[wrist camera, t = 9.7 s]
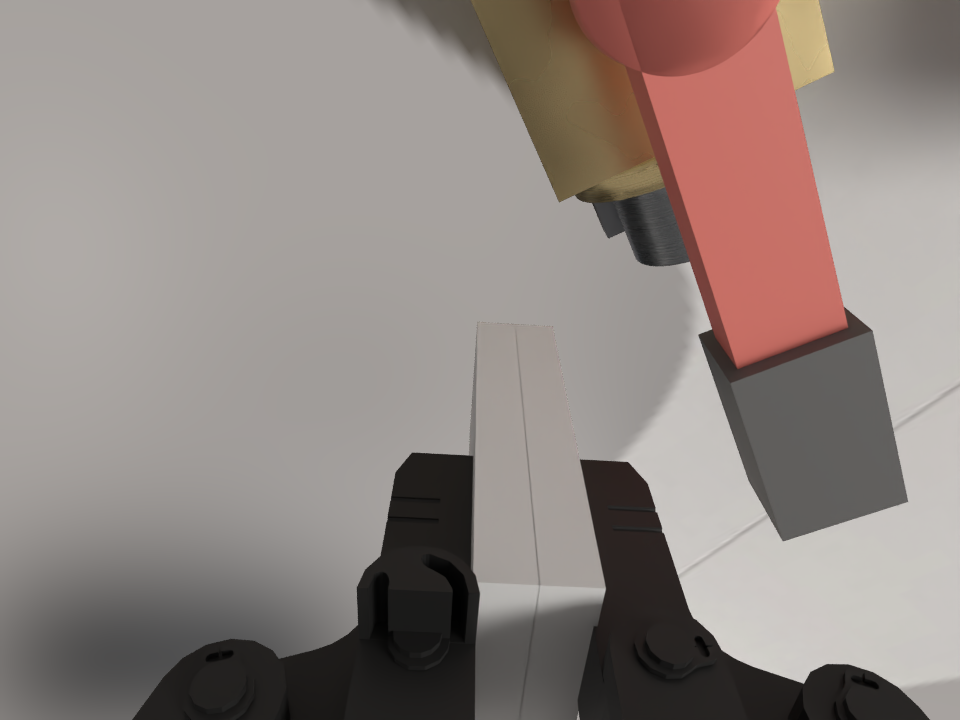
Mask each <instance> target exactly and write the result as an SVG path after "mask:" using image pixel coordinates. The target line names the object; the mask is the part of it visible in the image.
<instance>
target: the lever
mask: <svg viewBox="0 0 960 720" xmlns="http://www.w3.org/2000/svg"><path fill="white" fill-rule="evenodd" d="M779 1H780V0H569V2H570V5H571V9H572V12H573V14H574V16H575V19H576V21H577V23H578V25H579V26H580V28H581V30H582V32H583V33H584V35H585V36H586V37H587V38H588V40H589V41H590V42H591V43H592V44H593V45H594V46H595V47H596V48H597V49H598V50H599V51H600V52H602V53H603V54H605V55H606V56H607V57H609V58H610V59H612V60H614V61H616V62H618V63H620V64H623V65H625V68H626V71H627V74H628V77H629V80H630V83H631V86H632V89H633V92H634V95H635V98H636V101H637V104H638V107H639V110H640V113H641V116H642V119H643V122H644V125H645V128H646V131H647V134H648V137H649V140H650V143H651V146H652V149H653V152H654V155H655V158H656V161H657V164H658V167H659V170H660V173H661V176H662V179H663V182H664V185H665V188H666V191H667V194H668V197H669V200H670V203H671V206H672V209H673V212H674V215H675V218H676V221H677V224H678V227H679V230H680V233H681V236H682V239H683V242H684V245H685V248H686V251H687V254H688V257H689V260H690V263H691V266H692V269H693V272H694V275H695V278H696V281H697V284H698V287H699V290H700V293H701V296H702V299H703V302H704V305H705V308H706V311H707V314H708V317H709V320H710V323H711V326H712V330H709V331H707V332H704V333H702V334H699V338H700V341H701V344H702V347H703V350H704V353H705V355H706V358H707V361H708V364H709V367H710V370H711V373H712V376H713V379H714V381H715V384H716V387H717V390H718V393H719V396H720V399H721V402H722V405H723V408H724V410H725V413H726V416H727V419H728V422H729V425H730V428H731V431H732V434H733V436H734V439H735V442H736V445H737V448H738V451H739V454H740V457H741V460H742V463H743V465H744V468H745V471H746V474H747V477H748V480H749V482H750V484H751V485H752V487H753V489H754V491H755V493H756V494H757V496H758V498H759V500H760V501H761V503H762V505H763V507H764V509H765V510H766V512H767V514H768V516H769V517H770V519H771V521H772V523H773V525H774V526H775V528H776V530H777V532H778V533H779V535H780V537H781V539H782V541H786V540H789V539H792V538H795V537H798V536H802V535H805V534H808V533H811V532H814V531H817V530H821V529H824V528H827V527H830V526H833V525H836V524H839V523H843V522H846V521H849V520H852V519H855V518H858V517H861V516H865V515H868V514H871V513H874V512H877V511H880V510H883V509H887V508H890V507H893V506H896V505H899V504H902V503H906V502H908V499H907V494H906V489H905V485H904V480H903V475H902V470H901V465H900V461H899V456H898V451H897V446H896V441H895V436H894V432H893V427H892V422H891V417H890V412H889V408H888V403H887V398H886V393H885V388H884V384H883V379H882V374H881V369H880V364H879V360H878V355H877V350H876V345H875V340H874V336H873V331H872V330H871V329H870V328H869V327H868V326H866V325H865V324H864V323H863V322H862V321H860V320H859V319H858V318H857V317H856V316H854V315H853V314H852V313H851V312H850V311H848V310H847V309H846V308H845V307H844V306H843V302H842V298H841V293H840V289H839V284H838V280H837V275H836V271H835V267H834V262H833V258H832V253H831V249H830V245H829V240H828V236H827V231H826V227H825V222H824V218H823V214H822V209H821V205H820V200H819V196H818V192H817V187H816V183H815V178H814V174H813V169H812V165H811V161H810V156H809V152H808V147H807V143H806V139H805V134H804V130H803V125H802V121H801V116H800V112H799V108H798V103H797V99H796V94H795V90H794V86H793V81H792V77H791V72H790V68H789V63H788V59H787V55H786V50H785V46H784V41H783V37H782V33H781V28H780V24H779V19H778V15H777V10H776V6H777V5H778V3H779Z"/></svg>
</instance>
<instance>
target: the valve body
mask: <svg viewBox="0 0 960 720" xmlns="http://www.w3.org/2000/svg"><path fill="white" fill-rule="evenodd" d="M471 2H472V5H473V7H474V9H475V12H476V14H477V16H478V18H479V21H480V23H481V25H482V28H483V30H484V32H485V34H486V37H487V39H488V41H489V43H490V46H491V48H492V50H493V53H494V55H495V57H496V59H497V62H498V64H499V66H500V69H501V71H502V73H503V75H504V78H505V80H506V82H507V85H508V87H509V89H510V91H511V94H512V96H513V98H514V100H515V103H516V105H517V107H518V110H519V112H520V114H521V116H522V119H523V121H524V123H525V125H526V128H527V130H528V132H529V135H530V137H531V139H532V142H533V144H534V146H535V148H536V151H537V153H538V155H539V157H540V160H541V162H542V164H543V167H544V169H545V171H546V173H547V176H548V178H549V180H550V182H551V185H552V187H553V189H554V192H555V194H556V196H557V199H558V201H559V202H561V201H563V200H565V199H567V198H569V197H571V196H574V195H575V196H576V197H577V198H578V199H579V200H581V201H583V202H589V203H592V204H593V206H594V209H595V211H596V213H597V216H598V218H599V220H600V223H601V225H602V227H603V230H604V232H605V233H606V235H607V237H608V238H610V237H613V236H615V235H617V234H619V233H622V232H624V231H625V233H626V235H627V237H628V240H629V242H630V245H631V248H632V250H633V253H634V255H635V257H636V259H637V260H638V261H639V262H640V263H642V264H645V265H649V266H670V265H676V264H681V263H686V262H690V260H689V257H688V254H687V251H686V248H685V245H684V242H683V239H682V236H681V233H680V230H679V227H678V224H677V221H676V218H675V215H674V212H673V209H672V206H671V203H670V200H669V197H668V194H667V191H666V188H665V185H664V182H663V179H662V176H661V173H660V170H659V167H658V164H657V161H656V158H655V155H654V152H653V149H652V146H651V143H650V140H649V137H648V134H647V131H646V128H645V125H644V122H643V119H642V116H641V113H640V110H639V107H638V104H637V101H636V98H635V95H634V92H633V89H632V86H631V83H630V80H629V77H628V74H627V71H626V68H625V65H623V64H620V63H618V62H616V61H614V60H612V59H610V58H609V57H607V56H606V55H605V54H603V53H602V52H600V51H599V50H598V49H597V48H596V47H595V46H594V45H593V44H592V43H591V42H590V41H589V40H588V38H587V37H586V36H585V35H584V33H583V32H582V30H581V28H580V26H579V25H578V23H577V21H576V19H575V16H574V14H573V12H572V9H571V5H570V2H569V0H471ZM776 10H777V15H778V19H779V24H780V28H781V33H782V37H783V41H784V46H785V50H786V55H787V59H788V63H789V68H790V72H791V77H792V81H793V86H794V90H797V89H799V88H801V87H803V86H805V85H807V84H809V83H811V82H813V81H816V80H818V79H820V78H822V77H824V76H826V75H828V74H830V73H832V72H834V67H833V63H832V58H831V54H830V49H829V45H828V40H827V36H826V31H825V27H824V22H823V18H822V13H821V9H820V4H819V0H780V1H779V3H778V5H777V6H776Z"/></svg>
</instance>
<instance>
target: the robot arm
mask: <svg viewBox="0 0 960 720" xmlns="http://www.w3.org/2000/svg"><path fill="white" fill-rule="evenodd" d="M357 604H358V626H357V627H356V628H354V629H353V630H352V631H351V632H350V633H349V634H348V635H346V636H344V637H343V638H341V639H340V640H338V641H336V642H334V643H333V644H330V645H327V646H325V647H322V648H319V649H316V650H313V651H309V652H305V653H301V654H297V655H293V656H289V657H285V658H281V659H278V657H277V656H276V654H275V653H274V652H273V650H271V649H269V648H267V647H265V646H263V645H261V644H259V643H257V642H255V641H250V640H238V639H229V640H225V641H220V642H216V643H212V644H208V645H205V646H203V647H202V648H200V649H198V650H196V651H195V652H193V653H191V654H189V655H187V656H186V657H184V658H182V659H181V660H180V661H179V663H177V665H176V666H175V667H173V668H172V669H171V670H170V671H169V672H168V673H167V674H166V675H165V676H164V677H163V679H162V680H161V682H160V683H159V684H158V686H157V687H156V688H155V690H154V691H153V692H152V694H151V695H150V696H149V698H148V699H147V701H146V702H145V703H144V705H143V706H142V707H141V709H140V710H139V711H138V713H137V714H136V715H135V717H134V718H133V720H577V715H578V711H579V717H580V720H930V719H929V718H928V717H927V716H926V715H925V714H924V712H923V711H922V710H921V709H920V708H919V707H918V706H917V705H916V704H915V703H914V702H913V701H912V700H911V699H910V698H909V697H907V695H905V693H903V692H902V691H901V690H900V689H899V688H898V687H897V686H895V685H893V684H892V683H890V682H888V681H887V680H885V679H883V678H882V677H880V676H878V675H877V674H875V673H873V672H870V671H867V670H864V669H861V668H858V667H855V666H852V665H849V664H826V665H824V666H822V667H820V668H818V669H816V670H814V671H812V672H810V674H809V676H808V678H807V679H806V681H805V683H804V684H803V683H800V682H797V681H794V680H791V679H788V678H785V677H782V676H779V675H776V674H773V673H770V672H767V671H764V670H761V669H758V668H755V667H752V666H750V665H747V664H745V663H743V662H740V661H738V660H736V659H734V658H733V657H731V656H730V655H728V654H726V653H725V652H723V651H722V650H721V648H720V646H719V645H718V643H717V641H716V640H715V638H714V636H713V635H712V634H711V633H710V632H709V631H708V630H706V629H705V628H704V627H703V626H702V625H701V624H700V623H699V622H698V621H697V620H695V619H693V617H692V615H691V613H690V611H689V608H688V605H687V602H686V599H685V596H684V593H683V590H682V587H681V584H680V581H679V578H678V575H677V572H676V569H675V566H674V563H673V560H672V557H671V554H670V551H669V548H668V544H667V541H666V538H665V535H664V533H662V526H661V523H660V520H659V517H658V514H657V513H656V512H655V505H654V502H653V499H652V496H651V493H650V490H649V487H648V484H647V482H646V481H645V480H644V479H643V478H642V477H641V476H640V475H639V474H638V473H637V471H636V470H635V469H634V468H633V467H632V466H631V465H630V464H629V463H628V462H617V461H597V460H580V459H579V453H578V448H577V443H576V439H575V434H574V429H573V424H572V419H571V414H570V409H569V404H568V399H567V394H566V389H565V384H564V379H563V374H562V370H561V365H560V360H559V355H558V350H557V345H556V340H555V335H554V330H553V327H551V326H536V325H519V324H502V323H485V322H478V323H477V337H476V353H475V366H474V380H473V396H472V410H471V425H470V444H469V456H466V455H448V454H429V453H412V454H411V455H410V456H409V457H408V458H407V459H406V461H405V462H404V463H403V464H402V465H401V467H400V468H399V469H398V470H397V471H396V473H395V479H394V485H393V491H392V496H391V501H390V507H389V512H388V520H387V523H386V529H385V535H384V540H383V547H382V551H381V556H380V557H379V558H378V559H377V560H376V561H375V562H373V563H372V564H371V565H370V566H369V567H368V568H367V569H366V570H365V571H364V573H363V576H362V578H361V580H360V582H359V584H358V586H357Z"/></svg>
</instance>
